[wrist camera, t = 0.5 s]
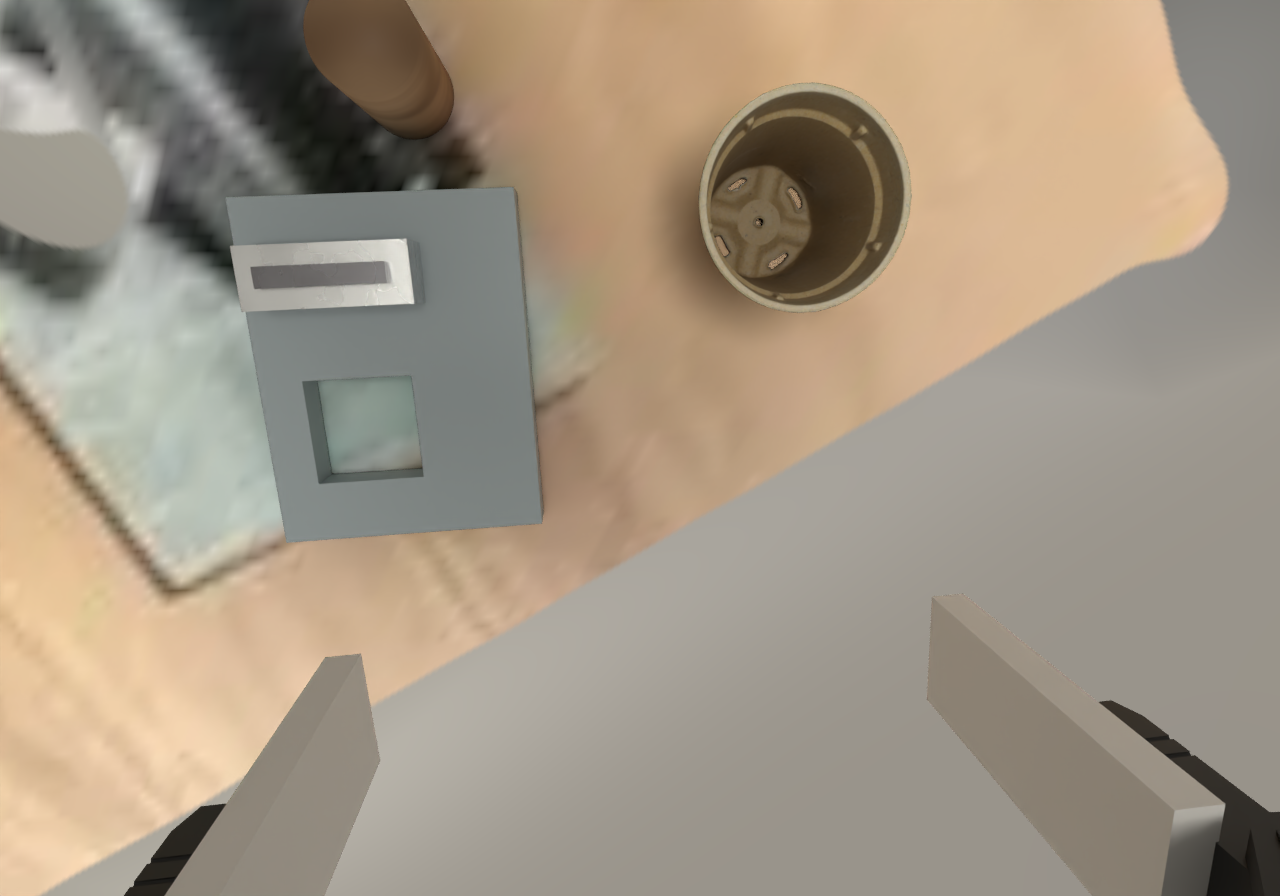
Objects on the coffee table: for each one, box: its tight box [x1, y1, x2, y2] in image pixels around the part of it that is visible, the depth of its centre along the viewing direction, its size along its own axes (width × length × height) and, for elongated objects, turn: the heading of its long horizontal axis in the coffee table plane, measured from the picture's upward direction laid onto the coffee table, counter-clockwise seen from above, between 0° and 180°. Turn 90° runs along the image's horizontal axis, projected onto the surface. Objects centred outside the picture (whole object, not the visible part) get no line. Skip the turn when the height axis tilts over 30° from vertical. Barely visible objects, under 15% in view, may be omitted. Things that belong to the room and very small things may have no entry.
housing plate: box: [225, 187, 544, 543], centre depth 36 cm, size 18×14×2 cm
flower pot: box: [699, 83, 912, 313], centre depth 33 cm, size 9×9×9 cm
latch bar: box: [230, 239, 426, 312], centre depth 33 cm, size 3×8×3 cm, turn 93°
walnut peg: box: [303, 0, 454, 139], centre depth 31 cm, size 4×4×8 cm
